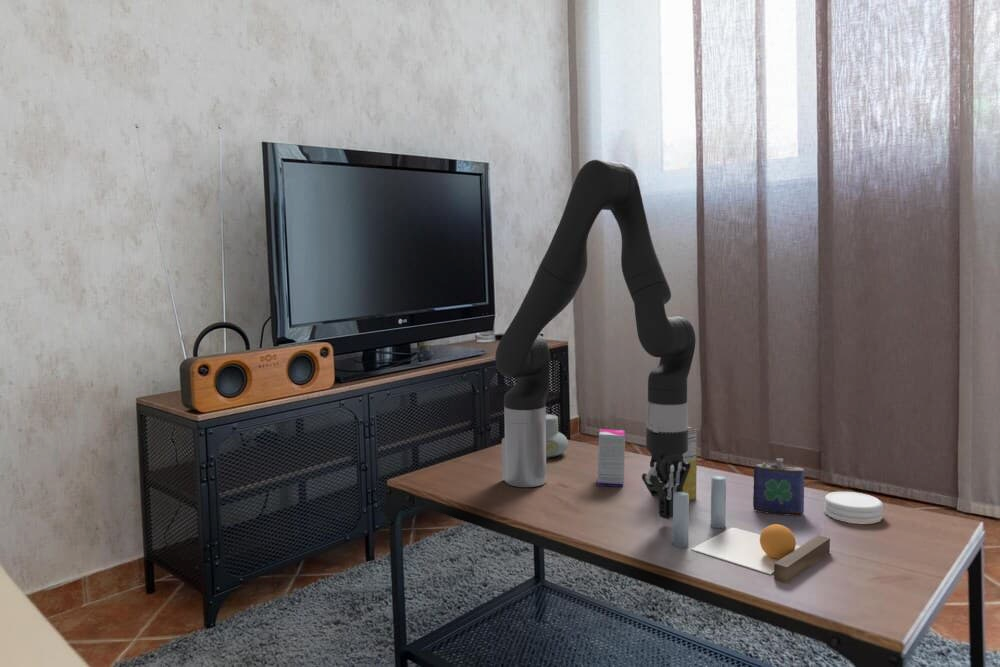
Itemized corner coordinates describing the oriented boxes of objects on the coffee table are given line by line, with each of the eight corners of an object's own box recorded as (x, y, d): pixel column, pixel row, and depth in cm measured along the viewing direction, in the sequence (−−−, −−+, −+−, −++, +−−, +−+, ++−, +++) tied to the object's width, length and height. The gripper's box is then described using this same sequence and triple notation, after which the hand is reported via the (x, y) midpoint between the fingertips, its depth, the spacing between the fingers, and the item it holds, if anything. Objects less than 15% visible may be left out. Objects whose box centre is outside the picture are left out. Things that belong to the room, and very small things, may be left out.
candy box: (652, 490, 153) (652, 420, 152) (668, 487, 155) (668, 418, 154) (681, 502, 145) (682, 429, 144) (697, 499, 147) (698, 426, 146)
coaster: (837, 526, 132) (837, 507, 132) (816, 507, 142) (816, 490, 142) (892, 526, 131) (893, 507, 131) (867, 507, 141) (868, 490, 141)
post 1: (669, 544, 124) (670, 494, 123) (678, 540, 125) (678, 490, 125) (683, 549, 122) (683, 497, 121) (691, 544, 124) (691, 494, 123)
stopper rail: (773, 579, 110) (774, 563, 110) (817, 549, 121) (817, 535, 121) (786, 583, 108) (787, 567, 108) (829, 552, 119) (830, 538, 119)
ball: (761, 522, 116) (792, 543, 113) (776, 513, 120) (806, 533, 117) (748, 549, 118) (778, 570, 115) (764, 539, 122) (793, 560, 119)
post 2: (708, 525, 132) (708, 478, 131) (715, 522, 134) (716, 475, 133) (720, 529, 130) (721, 481, 130) (728, 525, 132) (728, 478, 131)
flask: (803, 512, 139) (804, 458, 138) (804, 517, 136) (805, 462, 135) (753, 507, 142) (753, 454, 141) (752, 512, 139) (753, 458, 138)
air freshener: (568, 451, 186) (568, 413, 185) (567, 459, 178) (567, 420, 177) (527, 450, 188) (526, 412, 187) (523, 458, 180) (523, 419, 179)
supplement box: (624, 486, 156) (624, 435, 155) (597, 485, 157) (597, 434, 156) (625, 478, 162) (625, 429, 161) (598, 477, 163) (598, 428, 162)
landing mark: (691, 550, 121) (691, 548, 121) (732, 528, 131) (732, 527, 131) (770, 575, 111) (770, 573, 111) (809, 549, 121) (809, 548, 121)
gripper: (669, 417, 138) (669, 504, 140) (628, 428, 129) (628, 521, 131) (704, 422, 133) (703, 513, 135) (664, 435, 124) (663, 532, 126)
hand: (666, 517), depth 133 cm, fingers closed
